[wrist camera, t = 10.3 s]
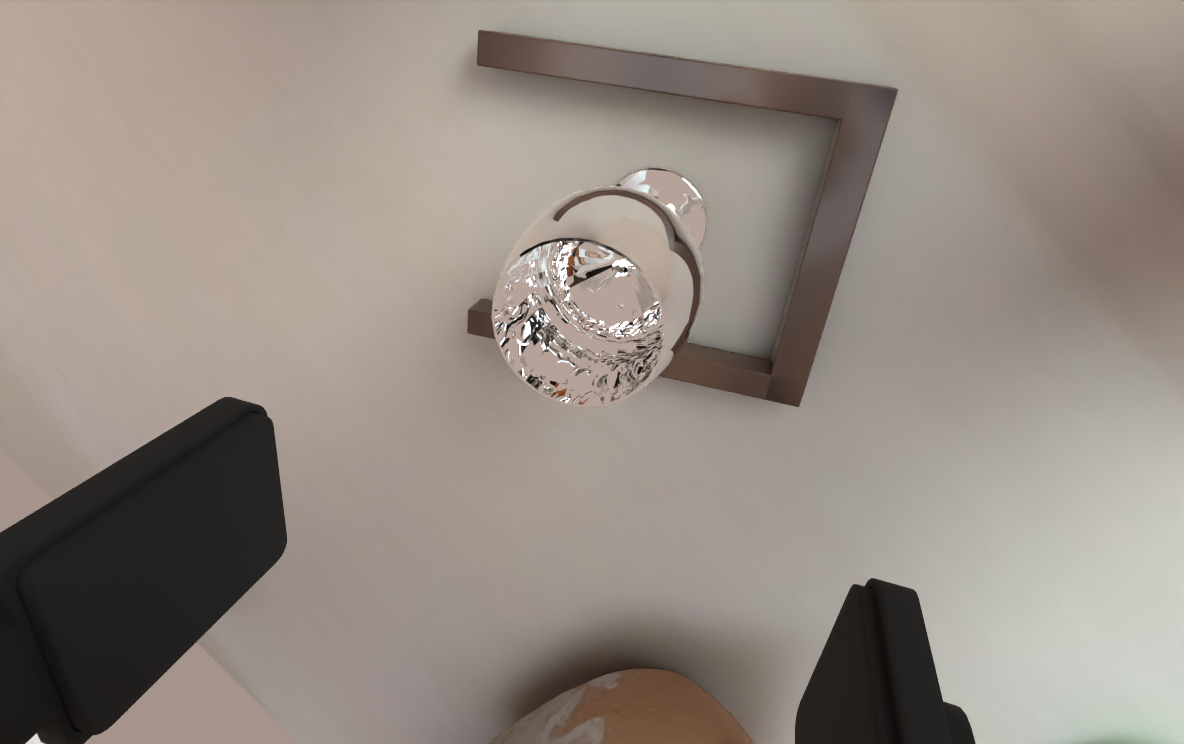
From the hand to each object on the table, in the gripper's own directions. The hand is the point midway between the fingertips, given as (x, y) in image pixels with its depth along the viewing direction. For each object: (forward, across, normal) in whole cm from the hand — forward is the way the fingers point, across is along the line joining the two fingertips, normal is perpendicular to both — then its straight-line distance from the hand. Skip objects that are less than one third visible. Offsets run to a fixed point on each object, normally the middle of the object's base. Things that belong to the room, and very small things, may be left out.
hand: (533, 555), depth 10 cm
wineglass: (+20, +2, 0) cm, 20 cm away
